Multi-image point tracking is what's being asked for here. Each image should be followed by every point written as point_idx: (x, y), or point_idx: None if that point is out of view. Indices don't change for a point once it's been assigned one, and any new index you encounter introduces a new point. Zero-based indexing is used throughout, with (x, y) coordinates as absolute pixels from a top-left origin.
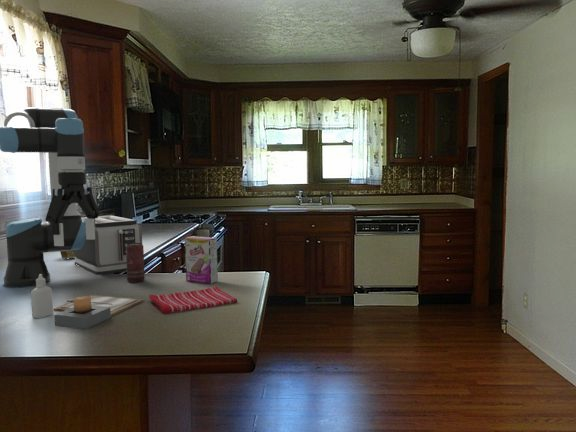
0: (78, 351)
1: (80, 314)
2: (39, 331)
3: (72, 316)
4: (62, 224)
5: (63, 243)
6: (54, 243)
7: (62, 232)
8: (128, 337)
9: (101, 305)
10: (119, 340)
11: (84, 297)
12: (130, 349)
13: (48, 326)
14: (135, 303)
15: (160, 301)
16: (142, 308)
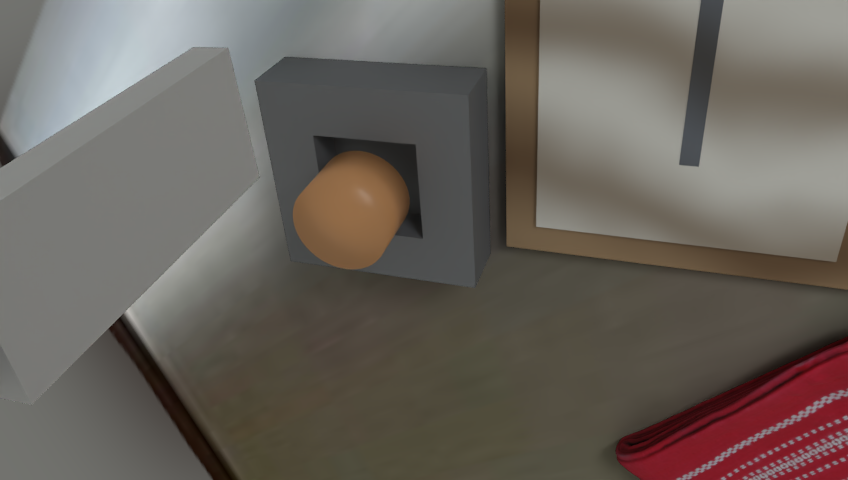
0: (159, 322)
1: None
2: (198, 45)
3: (278, 194)
4: (39, 388)
5: (235, 194)
6: (172, 69)
7: (130, 288)
8: (320, 409)
9: (647, 111)
10: (286, 393)
11: (356, 230)
12: (249, 444)
13: (263, 32)
14: (761, 277)
15: (778, 413)
16: (694, 331)
